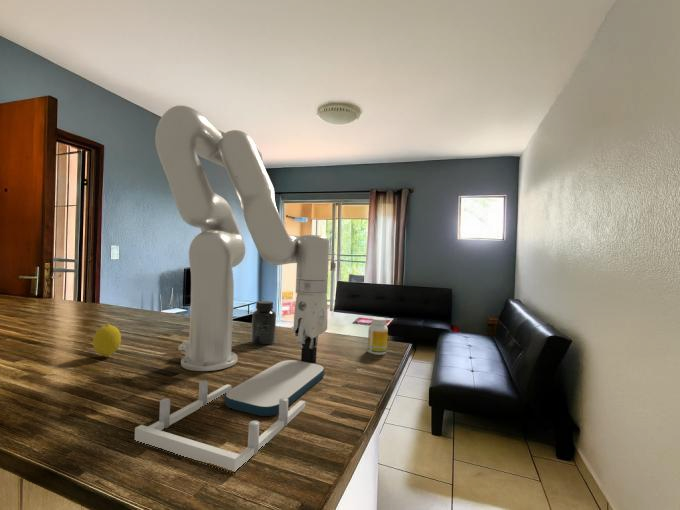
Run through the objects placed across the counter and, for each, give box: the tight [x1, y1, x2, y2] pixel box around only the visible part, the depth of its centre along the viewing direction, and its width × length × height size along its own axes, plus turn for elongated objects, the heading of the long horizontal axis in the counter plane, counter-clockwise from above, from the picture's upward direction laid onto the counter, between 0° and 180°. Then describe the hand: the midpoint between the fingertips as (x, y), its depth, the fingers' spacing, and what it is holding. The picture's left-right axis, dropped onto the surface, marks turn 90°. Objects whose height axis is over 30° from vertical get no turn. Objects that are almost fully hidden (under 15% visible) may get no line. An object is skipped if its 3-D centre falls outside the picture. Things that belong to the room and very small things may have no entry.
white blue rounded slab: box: [224, 359, 326, 417], centre depth 67 cm, size 24×12×2 cm, turn 159°
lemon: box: [92, 323, 122, 358], centre depth 80 cm, size 6×6×8 cm
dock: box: [134, 379, 307, 472], centre depth 53 cm, size 17×20×4 cm
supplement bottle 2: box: [367, 316, 389, 356], centre depth 94 cm, size 5×5×10 cm
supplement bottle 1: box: [250, 300, 277, 346], centre depth 99 cm, size 7×7×12 cm
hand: (308, 363), depth 80 cm, fingers closed
